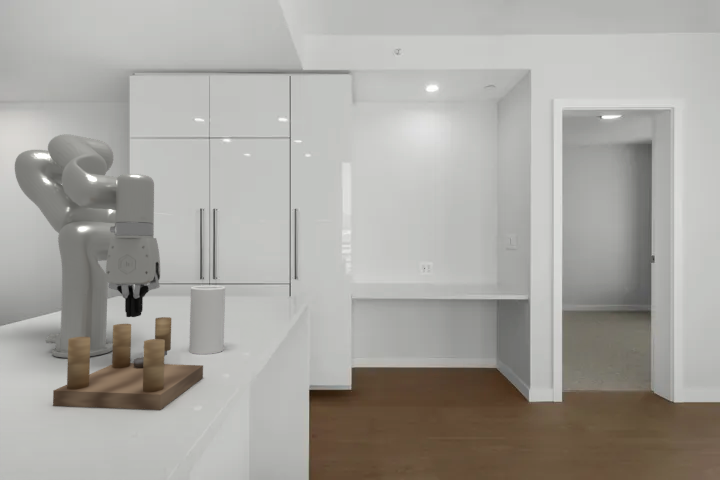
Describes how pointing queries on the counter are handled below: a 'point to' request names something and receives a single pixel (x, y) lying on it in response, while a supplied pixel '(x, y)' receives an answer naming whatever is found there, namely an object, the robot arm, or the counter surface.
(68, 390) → the stool seat
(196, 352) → the cup
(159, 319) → the hinged leg
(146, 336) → the counter surface
